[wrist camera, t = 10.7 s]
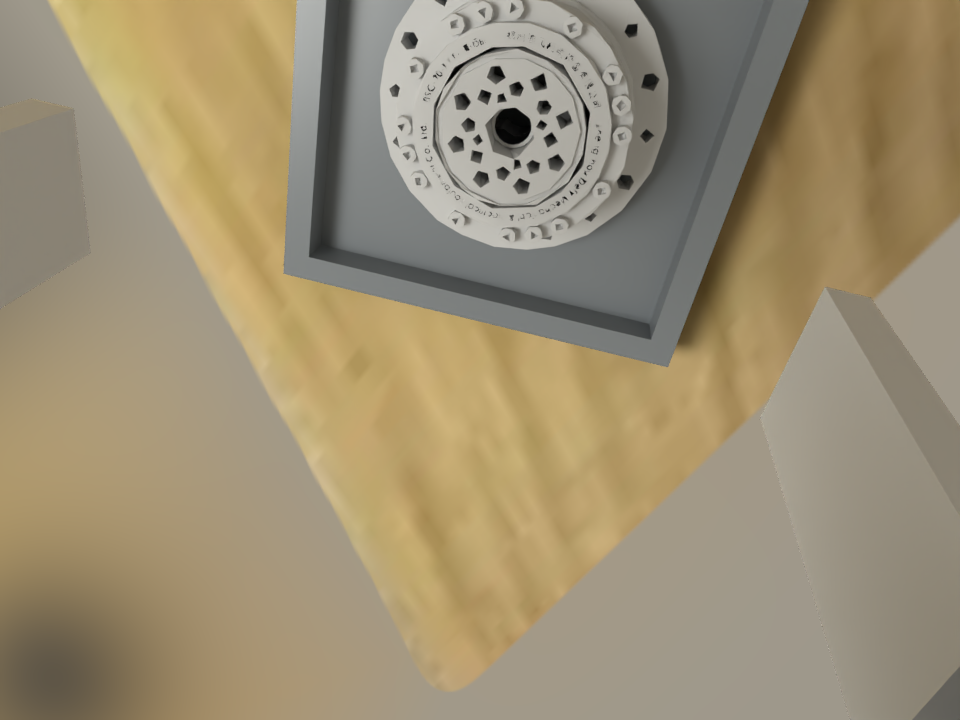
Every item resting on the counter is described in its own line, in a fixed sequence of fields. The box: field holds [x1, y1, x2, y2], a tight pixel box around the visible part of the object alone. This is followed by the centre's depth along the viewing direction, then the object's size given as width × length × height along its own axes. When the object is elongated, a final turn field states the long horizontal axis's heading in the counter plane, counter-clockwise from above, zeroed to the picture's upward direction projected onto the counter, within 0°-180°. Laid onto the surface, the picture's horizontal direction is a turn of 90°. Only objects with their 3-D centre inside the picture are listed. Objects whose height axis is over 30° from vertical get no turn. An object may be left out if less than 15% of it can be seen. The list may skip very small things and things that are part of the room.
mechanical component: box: [380, 0, 668, 250], centre depth 24 cm, size 10×4×10 cm
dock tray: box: [284, 0, 809, 367], centre depth 26 cm, size 16×16×2 cm
